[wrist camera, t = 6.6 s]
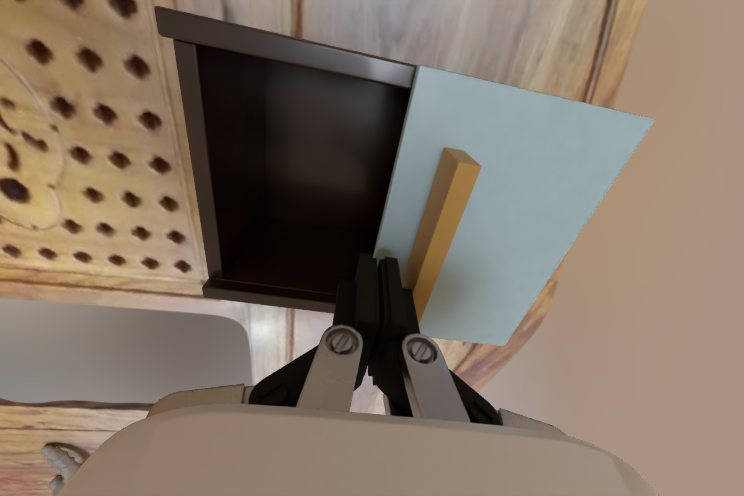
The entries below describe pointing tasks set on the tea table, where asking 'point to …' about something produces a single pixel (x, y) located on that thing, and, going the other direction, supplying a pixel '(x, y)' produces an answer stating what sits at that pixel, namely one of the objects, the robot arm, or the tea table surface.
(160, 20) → the tea box
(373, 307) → the robot arm
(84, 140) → the tea table surface
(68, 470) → the seahorse
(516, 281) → the light blue lid
